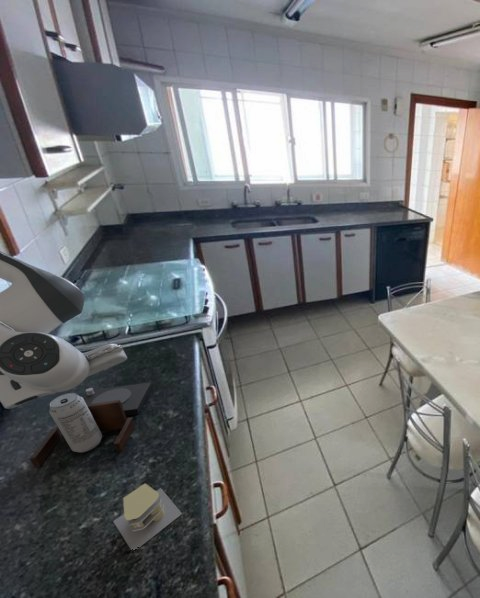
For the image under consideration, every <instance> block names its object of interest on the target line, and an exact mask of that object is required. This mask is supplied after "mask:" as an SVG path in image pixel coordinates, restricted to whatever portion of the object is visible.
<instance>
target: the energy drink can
mask: <svg viewBox="0 0 480 598" xmlns="http://www.w3.org/2000/svg"><path fill="white" fill-rule="evenodd" d="M48 413H49V414H50V416H51V418H52V419H53V421H54V423H55V425H56V424H57V425H56V427H57V426H58V427H57V429H58V428H59V429H60V431H61V433H62V435H63V436H64V438H63V439H64V440H65V441H66V443H67V444H68V446H69V448H70V449H71V451H72V452H74V453H75V452H77V453H85V452H89V451H91V450H93V449H95V448H96V447H97V446H98V445H99V444H100V443H101V442H102V439H103V433H102V432H100V430H99V428H98V426H97V424H96V422H95V420H94V418H93V416H92V414H91V412H90V410H89V409H88V407H87V405H86V403H85V401H84V399H83V396H80V395H78V394H77V393H76V392H68V393H64V394H61V395H58V396H57V397H55V398H54V399H52V400H51V401H50V403H49V412H48ZM59 429H58V430H59ZM60 431H59V432H60ZM61 433H60V434H61ZM62 435H61V436H62Z"/></svg>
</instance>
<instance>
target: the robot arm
mask: <svg viewBox="0 0 480 598" xmlns="http://www.w3.org/2000/svg"><path fill="white" fill-rule="evenodd" d="M0 279H1V280H4V281H5V282H8V283H10V285H9V286H8V287H7V288H5V289H4V290H1V291H0V403H1V405H2V406H3V408H4V409H7V410H10V409H11V410H12V409H14V408H17V407H20V406H23V405H24V404H25V405H26V404H27V403H29V402H32V401H35V400H36V399H38V398H43V397H45V396H50V395H54V394H56V393H62V392H67V391H70V390H72V389H74V388H76V387H78V386H79V385H81V384H82V383H83V382H84V381H85V380H86V378H89V377H90V376H93V375H96V374H98V373H102V372H105V371H107V370H108V369H110V368H112V367H114V366H117V365H119V364H122V363H123V362H125V361H126V360H128V356H127V354H126V352H125V350H124V346H122V345H121V344H116V343H108V344H104V345H102V346H99V347H97V348H94V349H92V350H89V351H86V352H84V353H83V352H82V351H80V350H79V349H77V347H75V346H73V344H72V343H70V342H69V341H67V340H65V339H63V338H61V337H59V336H57V335H53V334H50V333H51V332H52V331H54V330H56V329H57V328H58V327H59V326H61V325H62V324H65V323H67V322H68V321H70V320H72V319H74V318H76V317H77V316H79V315H80V314H82V312H83V310H84V305H85V293H84V292H83V291H82V290H81V289H80V288H79V287H78V286H77V285H76V284H74V283H73V282H72V281H70V280H68V279H67V278H65V277H62V276H61V275H57V274H54V273H52V272H49V271H47V270H44V269H41V268H39V267H37V266H34V265H32V264H29V263H27V262H25V261H23V260H21V259H19V258H17V257H14V256H12V255H10V254H8V253H6V252H3V251H2V250H0Z"/></svg>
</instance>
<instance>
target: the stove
mask: <svg viewBox="0 0 480 598" xmlns="http://www.w3.org/2000/svg"><path fill="white" fill-rule="evenodd" d="M152 389H153V385H152V382H150V381H149V382H143V383H142V382H141V383H135V384H126V385H118V386H111V387H104V388H96V389H94V388H93V387H88V388H86V389H85V394H84V395H83V396H82V398H83V399H84V401H85V403H86V405H87V404H94V403H101V402H108V401H115V400H120V402H121V404H122V407H123V410H124V413H125V415H126V417H128V416H134V415H139V414H140V412H141V410H142V408H143V406H144V405H145V402H146V401H147V398H148V396H149V395H150V392H151V391H152Z"/></svg>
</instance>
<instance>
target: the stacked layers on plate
mask: <svg viewBox="0 0 480 598" xmlns="http://www.w3.org/2000/svg"><path fill="white" fill-rule="evenodd" d="M122 499H123V500H122V501H123V513H122V514H121V515H120V516H118V517H117V518H115V519H114V520H113V521H112V522H113V523H114V525H115V527H116V529H117V530H118V532H119V533H120V534H121V537H122V538H123V540H124V541H125V543H126V544H127V546H128V547H129V549H130V551H131V550H132V549H133V550H135V549H137V550H138V549H139V548H141V547H142V546H144V544H146V543H147V542H148V541H150V540H151V539H152V538H153V537H155V536H156V535H157V534H159V533H160V532H161V531H162V530H164V529H165V528H166V527H168V526H169V525H170V524H171V523H173V522H174V521H175V520H176V519H178V518H179V517H180V516H181V515H183V513H182V512H181V510H180V509H179V508H178V507H177V506H176V504H175V503H174V502H173V501H172V499H171V498H170V497H169V495H167V494H166V492H165V491H164V490H163V489H162V488H161V487H160V488H158V489H156V490H155V489H154V488H153V487H151V486H150V485H149V484H147V483H144V484H143V483H142V485H140V486H138V488H136V489H134V490H133V491H132V492H130V493H128V494H127V495H126V496H124V497H123V498H122ZM137 547H139V548H137Z"/></svg>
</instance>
